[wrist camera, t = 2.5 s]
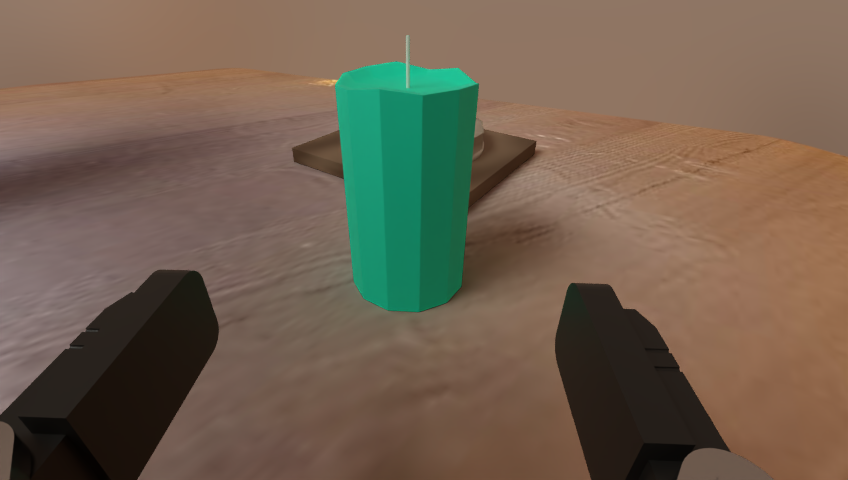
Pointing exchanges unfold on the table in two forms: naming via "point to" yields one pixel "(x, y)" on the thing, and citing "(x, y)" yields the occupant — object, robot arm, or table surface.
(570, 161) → the table surface
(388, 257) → the candle
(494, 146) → the holder
